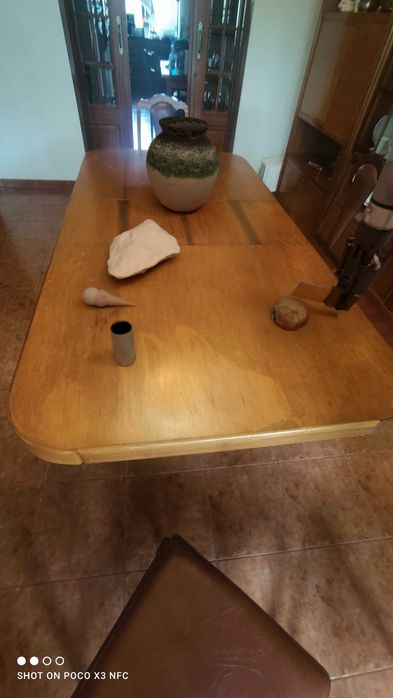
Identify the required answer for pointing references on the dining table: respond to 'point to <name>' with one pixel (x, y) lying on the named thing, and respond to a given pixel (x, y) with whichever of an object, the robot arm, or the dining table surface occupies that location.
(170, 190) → the vase
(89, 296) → the ice cream cone
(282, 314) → the bread roll
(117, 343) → the grey cylinder
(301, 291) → the knife
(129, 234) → the white rock slab
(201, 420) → the dining table surface
